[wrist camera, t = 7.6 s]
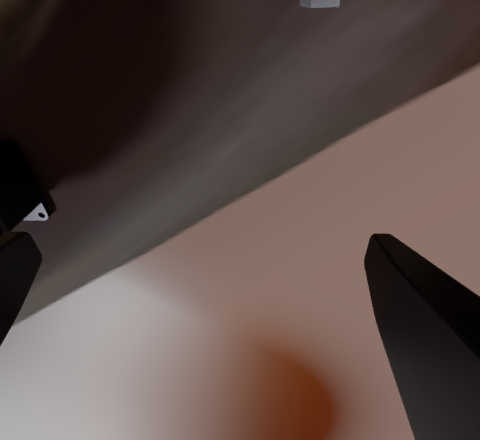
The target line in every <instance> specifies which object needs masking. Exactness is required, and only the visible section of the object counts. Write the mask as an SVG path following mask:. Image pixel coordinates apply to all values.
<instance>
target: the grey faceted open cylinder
mask: <svg viewBox="0 0 480 440" xmlns="http://www.w3.org/2000/svg"><path fill="white" fill-rule="evenodd" d="M339 3H340V0H300V6H304V7H308V8H323V7H339Z"/></svg>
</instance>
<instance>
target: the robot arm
mask: <svg viewBox="0 0 480 440" xmlns="http://www.w3.org/2000/svg"><path fill="white" fill-rule="evenodd" d="M7 145H8V146H10V148H11V149H10V148H9V147H8V146H7ZM42 213H43V214H42ZM50 216H51V212H50V210H49V208H48V206H47V204H46V202H45V200H44V198H43V196H42V194H41V192H40V190H39V188H38V186H37V184H36V181H35V179H34V177H33V175H32V173H31V171H30V169H29V167H28V165H27V163H26V161H25V159H24V157H23V155H22V153H21V151H20V149H19V147H18V145H17V144H16V142H14V141H13V140H11V139H0V346H1V344H2V342H3V340H4V339H5V337H6V335H7V333H8V332H9V330H10V328H11V326H12V325H13V323H14V321H15V319H16V317H17V316H18V314H19V312H20V310H21V308H22V305H23V303H24V301H25V299H26V297H27V294H28V292H29V290H30V288H31V285H32V283H33V281H34V279H35V276H36V274H37V272H38V270H39V267H40V265H41V263H42V254H41V252H40V251H39V249H38V247H37V245H36V244H35V242H34V240H33V238H32V236H31V235H30V234H29V233H27V232H11V231H12V230H13V229H14V228H15V227H16V226H17V225H18V224H19V223H20V222H21V221H22V220H47V219H48V218H49V217H50ZM364 266H365V271H366V276H367V281H368V286H369V291H370V296H371V301H372V306H373V311H374V315H375V319H376V323H377V326H378V329H379V333H380V336H381V339H382V342H383V345H384V348H385V351H386V353H387V357H388V360H389V363H390V366H391V369H392V372H393V375H394V378H395V381H396V384H397V387H398V390H399V393H400V396H401V399H402V402H403V405H404V408H405V411H406V414H407V417H408V420H409V423H410V426H411V429H412V431H413V435H414V438H415V440H480V296H478V295H477V294H475V293H474V292H472V291H471V290H470V289H468V288H467V287H465V286H464V285H462V284H461V283H460V282H458V281H457V280H455V279H454V278H452V277H451V276H449V275H448V274H447V273H445V272H444V271H442V270H441V269H439V268H438V267H437V266H435V265H434V264H432V263H431V262H430V261H428V260H427V259H425V258H424V257H422V256H421V255H419V254H418V253H417V252H415V251H414V250H412V249H411V248H409V247H408V246H407V245H405V244H404V243H402V242H401V241H400V240H398V239H397V238H395V237H394V236H392V235H391V234H373V235H372V236H371V237H370V240H369V244H368V248H367V251H366V255H365V259H364Z"/></svg>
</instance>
